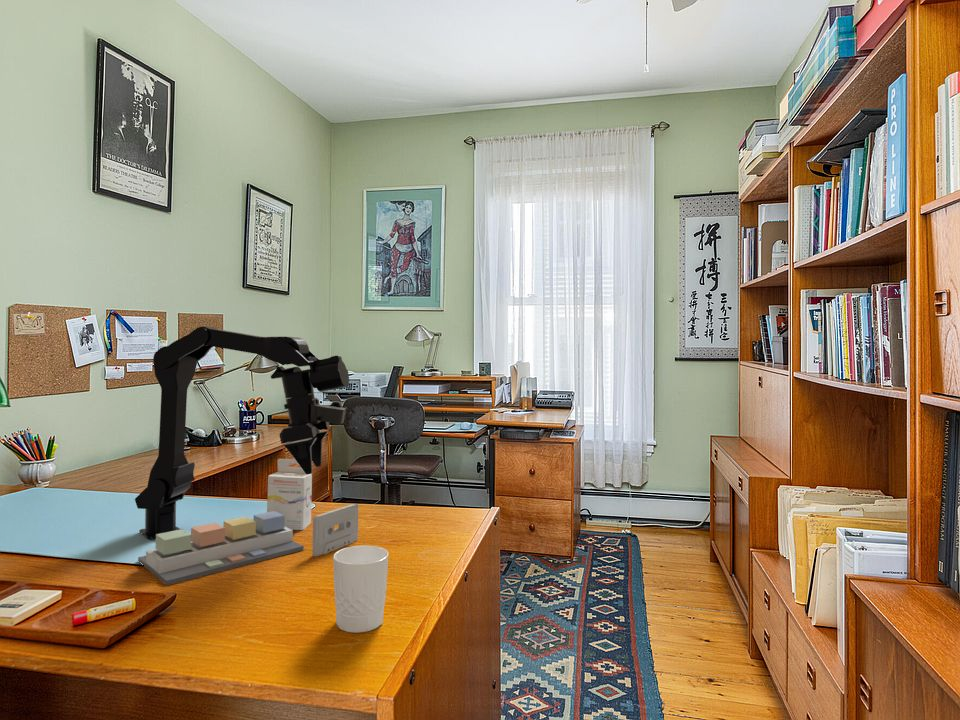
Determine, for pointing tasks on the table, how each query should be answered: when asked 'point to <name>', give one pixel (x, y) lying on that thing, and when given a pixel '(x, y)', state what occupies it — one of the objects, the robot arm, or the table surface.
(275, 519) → the key slate
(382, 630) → the table surface
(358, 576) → the white cup
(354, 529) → the cassette
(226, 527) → the key ochre
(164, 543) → the key sage
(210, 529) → the key terracotta
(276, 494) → the ink cartridge box
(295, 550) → the keypad base
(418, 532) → the table surface
